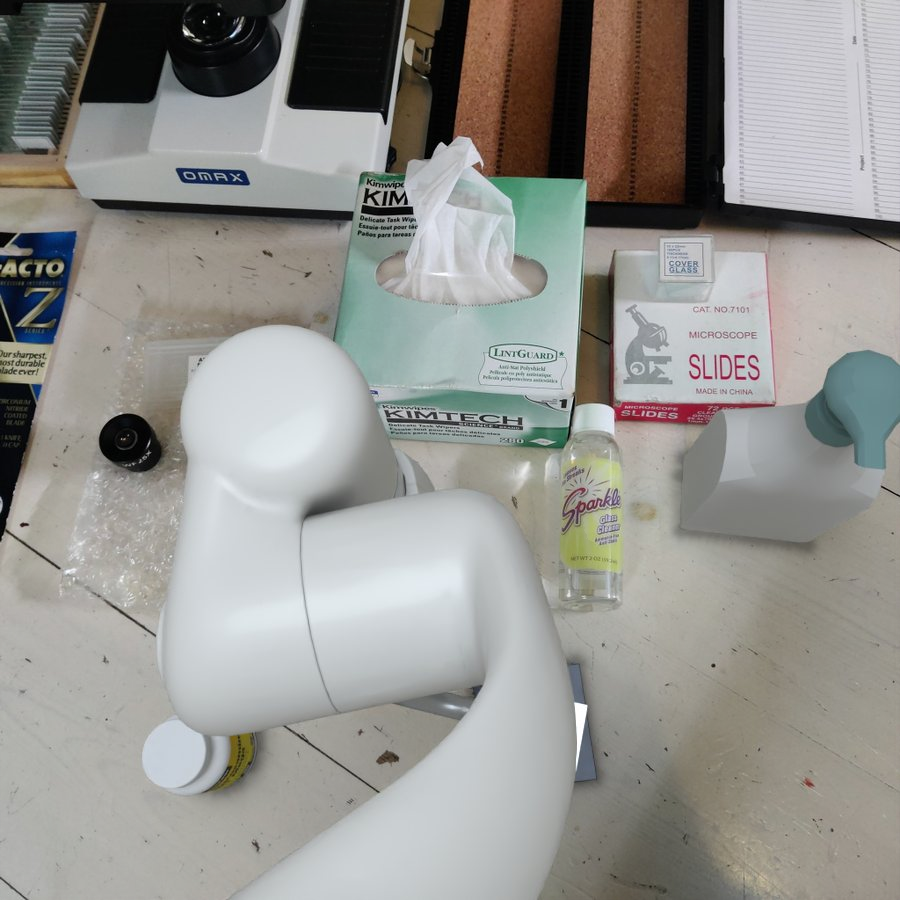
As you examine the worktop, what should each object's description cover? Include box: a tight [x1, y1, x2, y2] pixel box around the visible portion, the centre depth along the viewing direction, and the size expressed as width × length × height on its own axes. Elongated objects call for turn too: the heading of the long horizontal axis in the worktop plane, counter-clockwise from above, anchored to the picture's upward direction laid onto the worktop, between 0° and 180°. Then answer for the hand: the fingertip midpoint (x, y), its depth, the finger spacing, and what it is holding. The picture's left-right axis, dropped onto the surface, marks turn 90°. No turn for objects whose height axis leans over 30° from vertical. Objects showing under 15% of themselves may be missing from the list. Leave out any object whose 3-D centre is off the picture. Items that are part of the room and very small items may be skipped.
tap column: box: [472, 663, 598, 783], centre depth 58 cm, size 9×9×19 cm
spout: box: [390, 692, 589, 772], centre depth 48 cm, size 13×4×6 cm, turn 77°
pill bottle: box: [141, 712, 258, 797], centre depth 63 cm, size 6×6×11 cm
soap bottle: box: [679, 349, 900, 544], centre depth 59 cm, size 11×8×27 cm
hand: (377, 550), depth 59 cm, fingers closed
